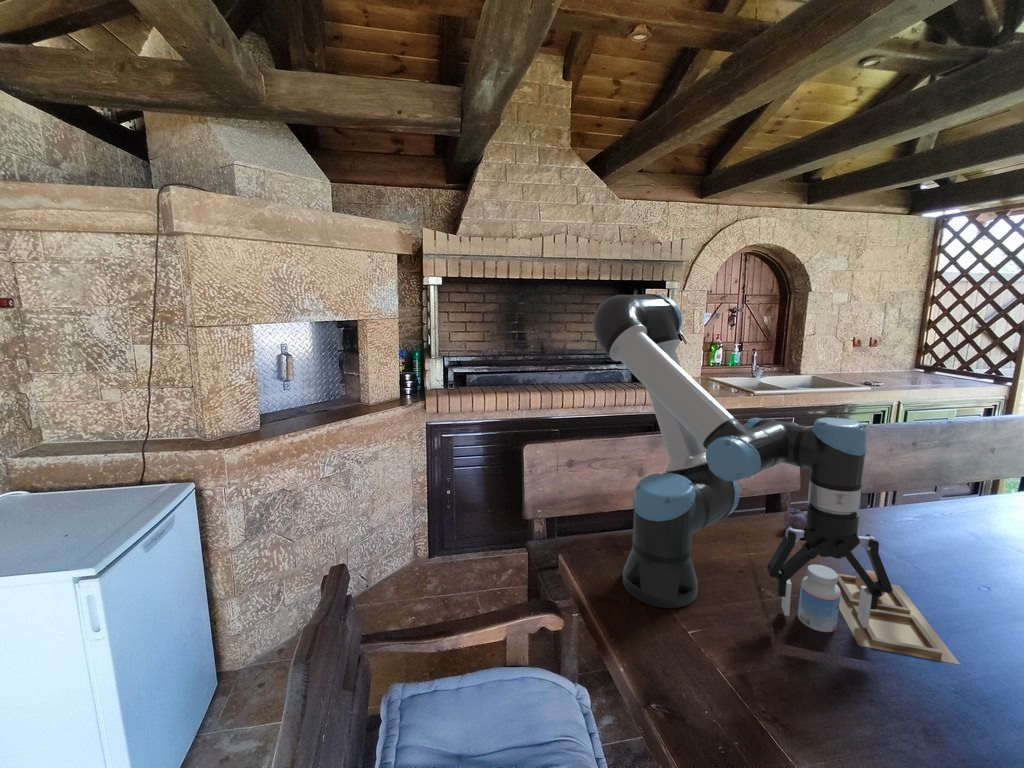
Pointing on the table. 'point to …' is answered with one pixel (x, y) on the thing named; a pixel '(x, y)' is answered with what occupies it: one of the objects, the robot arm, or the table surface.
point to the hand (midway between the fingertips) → (823, 617)
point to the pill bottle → (819, 599)
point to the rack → (891, 624)
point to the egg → (861, 583)
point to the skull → (795, 519)
